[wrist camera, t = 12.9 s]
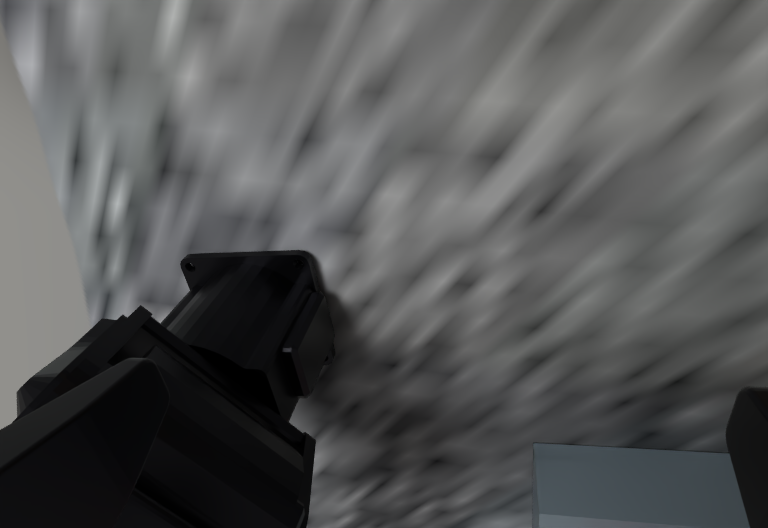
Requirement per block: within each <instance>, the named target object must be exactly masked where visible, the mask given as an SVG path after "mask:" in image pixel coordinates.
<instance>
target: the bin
mask: <svg viewBox="0 0 768 528" xmlns="http://www.w3.org/2000/svg"><path fill="white" fill-rule="evenodd" d="M532 528H750V527H749V523H748V519H747V516H746V512H745V508H744V505H743V501H742V498H741V494H740V490H739V487H738V483H737V480H736V476H735V472H734V469H733V465H732V462H731V458H730V454H729V453H711V452H692V451H674V450H655V449H637V448H618V447H600V446H581V445H563V444H544V443H533V516H532Z"/></svg>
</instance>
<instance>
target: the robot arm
mask: <svg viewBox="0 0 768 528" xmlns="http://www.w3.org/2000/svg"><path fill="white" fill-rule="evenodd" d="M297 259H298V260H301V261H302V262H303V263H304V264H303V265H302V264H299V263H298V262H297ZM190 263H192V264H193V265H194V266H195V267H193V266H191V264H190ZM180 265H181V269H182V271H183V274H184V276H185V279H186V281H187V284H188V286H189V289H190V291H189V292H188V293H187V295H186V296H185V297H184V298H183V299H182V300H181V301H180V302H179V304H178V305H177V306H176V307H175V308H174V309H173V310H172V311H171V312H170V314H169V315H168V316H167V317H166V318H165V319H164V320H163V321H162V322H161V324H160V323H159V322H158V321H156V320H155V319H154V318H152V317H151V315H152V313H150V312H149V311H148V310H146V309H145V308H144V307H142V306H141V305H140V306H139V307H138V308H137V309H136V310H135V311H134V312H133V313H132V314H131V315H130V316H129V317H128V318H127V317H125V316H124V315H122V316H121V317H120V318H118V319H117V320H110V319H101V320H100V321H99V322H98V323H97V324H96V325H95V326H94V327H93V328H92V329H90V330H89V331H88V332H87V333H86V334H85V335H84V336H83V337H82V338H81V339H80V340H79V341H78V342H76V343H75V344H74V345H73V346H72V347H71V348H70V349H68V350H67V351H66V352H64V353H63V354H62V355H60V356H59V357H58V358H56V359H55V360H54V361H52V362H51V363H50V364H48V365H47V366H46V367H44V368H43V369H42V370H40V371H39V372H38V373H36V374H35V375H34V376H33V377H31V378H30V379H29V380H28V381H27V382H26V383H25V384H24V385H23V386H22V387H21V388H20V389H19V390H18V391H17V418H16V419H15V420H14V421H13V422H12V424H10V425H8V426H6V427H5V428H3V429H1V430H0V528H306V526H307V521H308V515H309V505H310V495H311V485H312V475H313V464H314V454H315V444H316V440H315V439H314V438H312V437H311V436H310V435H309V434H307V433H306V432H304V433H302V432H301V431H299V430H298V429H297V428H295V427H294V426H293V425H292V424H290V423H289V420H290V418H291V416H292V413H293V411H294V409H295V406H296V404H297V402H298V400H299V398H307V397H308V396H309V395H310V394H311V393H312V390H313V388H314V385H315V383H316V381H317V378H318V376H319V373H320V371H321V369H322V366H323V365H329V364H331V363H332V361H333V359H334V356H335V350H334V346H333V340H334V337H335V335H334V330H333V326H332V322H331V318H330V314H329V310H328V306H327V302H326V298H325V296H324V294H323V293H322V292H320V290H319V286H318V282H317V278H316V274H315V270H314V266H313V262H312V259H311V256H310V255H309V254H308V253H307V252H305V251H301V250H291V251H262V252H233V253H204V254H189V255H187V256H186V257H185V258H184V259H183V260H182V261H181V263H180ZM726 442H727V447H728V451H729V454H730V458H731V462H732V465H733V469H734V472H735V476H736V480H737V483H738V487H739V490H740V494H741V498H742V501H743V505H744V508H745V512H746V516H747V519H748V523H749V527H750V528H768V387H750V386H749V387H744V388H742V389H741V390H740V391H739V393H738V395H737V398H736V401H735V404H734V407H733V410H732V413H731V415H730V418H729V421H728V424H727V428H726Z"/></svg>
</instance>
